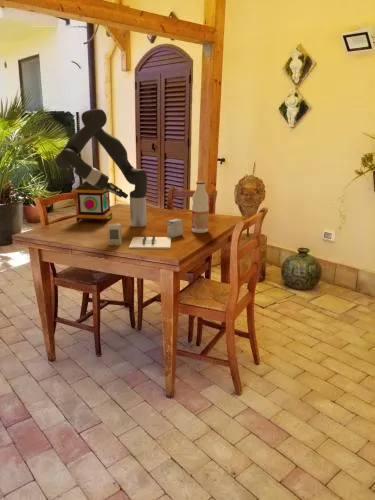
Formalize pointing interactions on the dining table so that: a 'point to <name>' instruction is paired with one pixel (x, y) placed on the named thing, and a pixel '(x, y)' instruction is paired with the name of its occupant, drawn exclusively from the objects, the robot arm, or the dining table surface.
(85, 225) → the dining table surface
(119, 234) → the drive
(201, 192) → the fruit juice
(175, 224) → the medicine box
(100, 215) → the decorative lantern
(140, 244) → the pin tray
